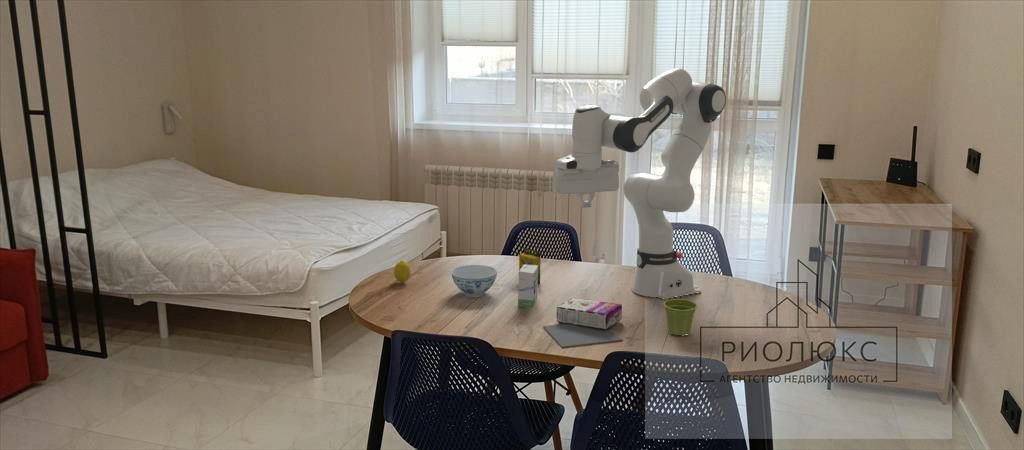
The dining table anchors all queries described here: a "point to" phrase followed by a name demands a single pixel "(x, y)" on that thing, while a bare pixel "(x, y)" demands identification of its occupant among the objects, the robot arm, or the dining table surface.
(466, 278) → the chinaware
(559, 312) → the candy bar box
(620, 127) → the robot arm
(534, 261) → the crayon box
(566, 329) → the mat
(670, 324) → the plant pot
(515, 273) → the dining table surface
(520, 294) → the ink box
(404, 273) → the lemon
